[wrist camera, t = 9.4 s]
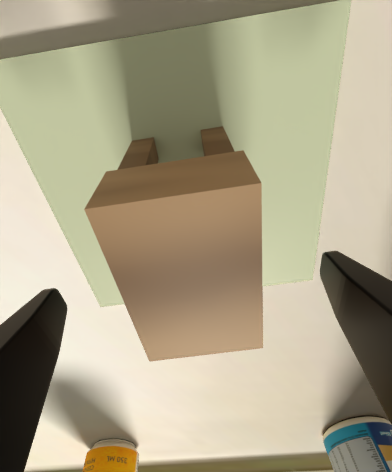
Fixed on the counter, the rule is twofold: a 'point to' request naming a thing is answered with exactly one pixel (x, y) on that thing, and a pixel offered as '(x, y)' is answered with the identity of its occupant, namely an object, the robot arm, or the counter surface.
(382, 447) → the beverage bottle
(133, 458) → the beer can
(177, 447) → the counter surface
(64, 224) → the sage board
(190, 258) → the walnut stool
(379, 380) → the robot arm
